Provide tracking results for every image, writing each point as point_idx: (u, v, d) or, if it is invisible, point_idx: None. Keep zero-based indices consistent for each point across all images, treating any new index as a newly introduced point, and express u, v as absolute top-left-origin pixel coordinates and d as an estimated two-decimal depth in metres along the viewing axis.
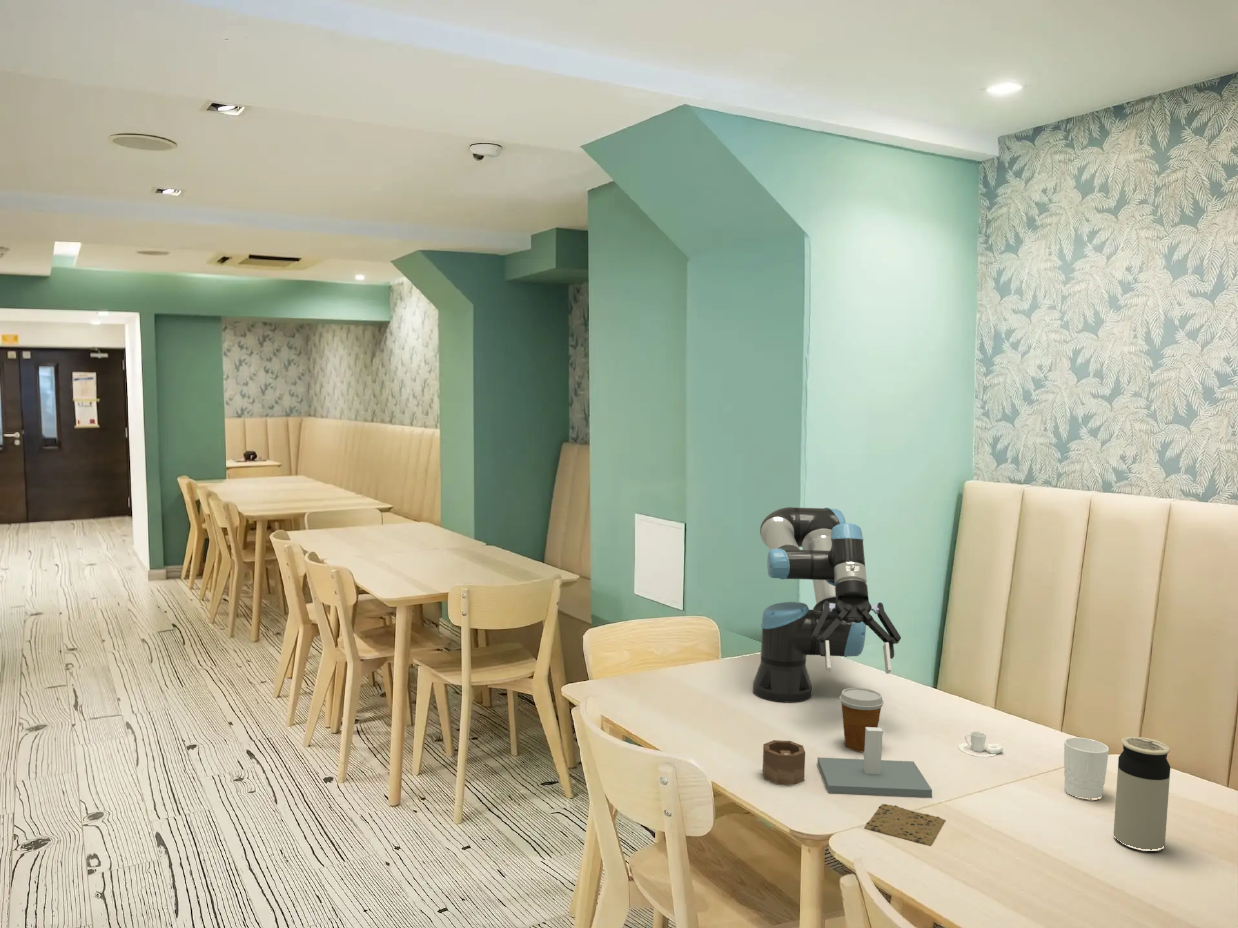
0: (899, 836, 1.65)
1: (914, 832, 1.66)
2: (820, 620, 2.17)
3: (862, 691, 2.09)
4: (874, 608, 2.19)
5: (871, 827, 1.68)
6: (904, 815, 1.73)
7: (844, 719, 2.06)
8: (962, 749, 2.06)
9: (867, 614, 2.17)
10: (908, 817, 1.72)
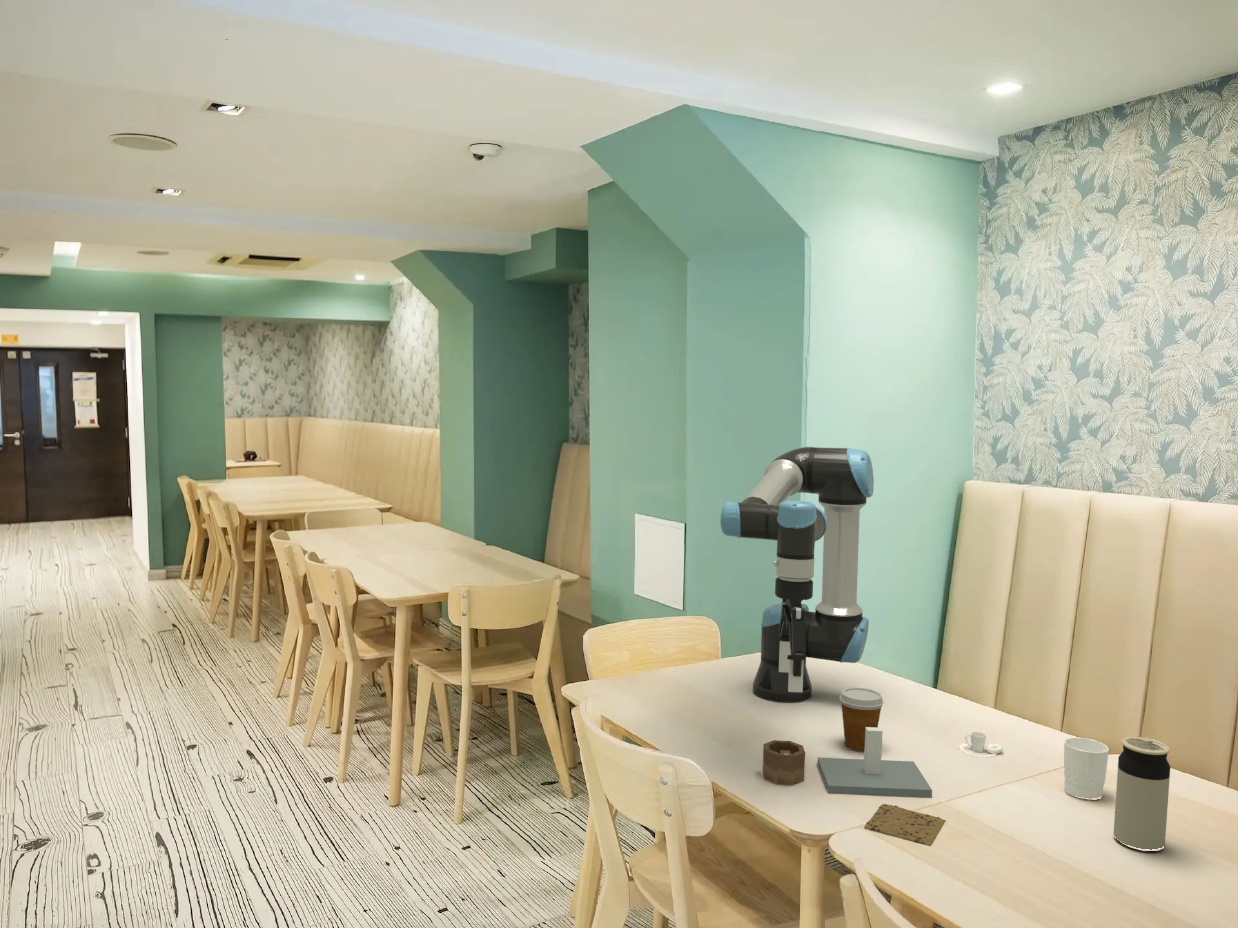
0: (899, 836, 1.65)
1: (914, 832, 1.66)
2: (780, 616, 1.96)
3: (862, 691, 2.09)
4: None
5: (871, 826, 1.68)
6: (904, 815, 1.73)
7: (844, 719, 2.06)
8: (962, 749, 2.06)
9: (786, 621, 1.85)
10: (908, 817, 1.72)
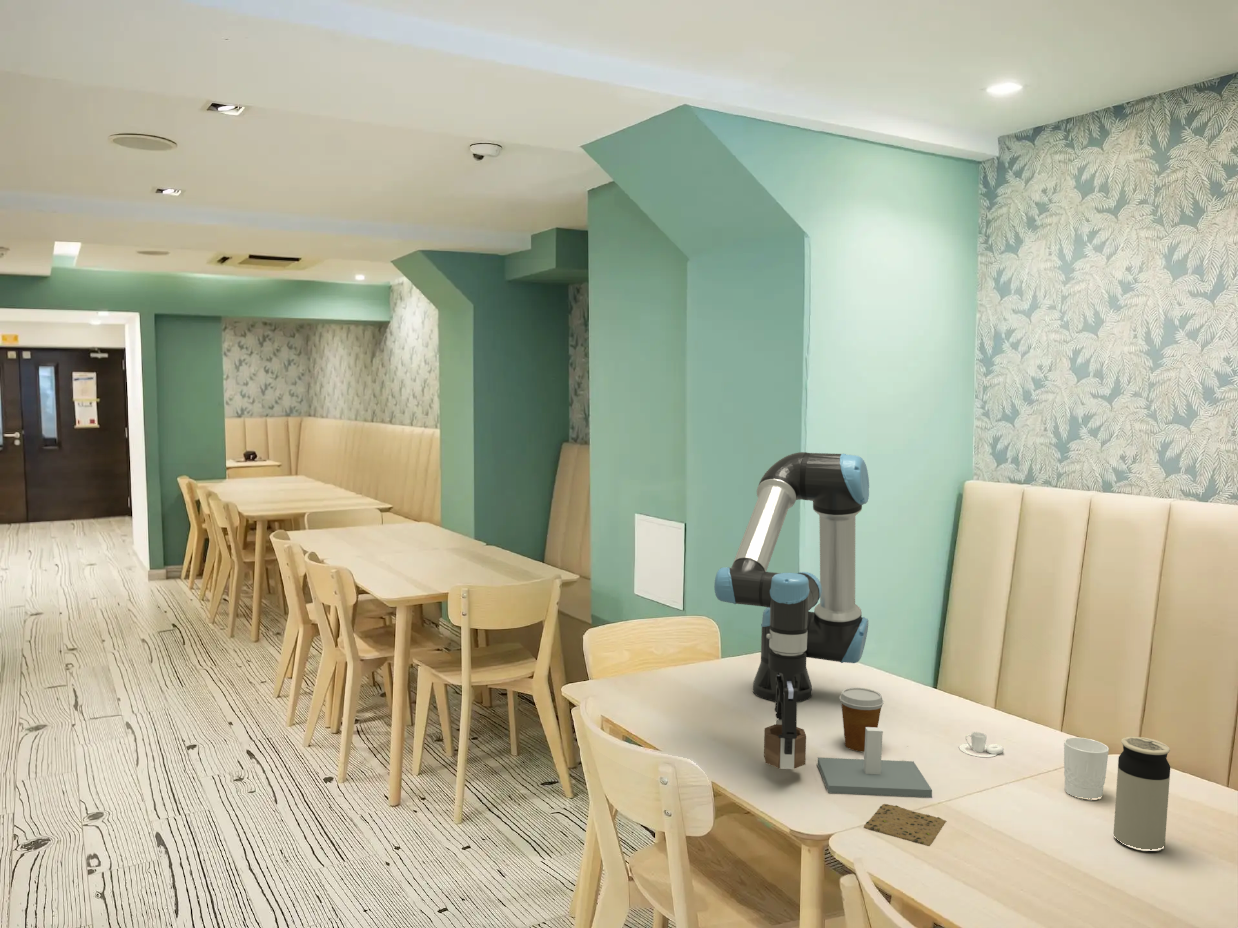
0: (898, 836, 1.65)
1: (913, 832, 1.66)
2: (776, 692, 1.96)
3: (862, 691, 2.09)
4: None
5: (870, 826, 1.68)
6: (905, 815, 1.73)
7: (844, 719, 2.06)
8: (963, 749, 2.06)
9: (779, 695, 1.87)
10: (908, 817, 1.72)
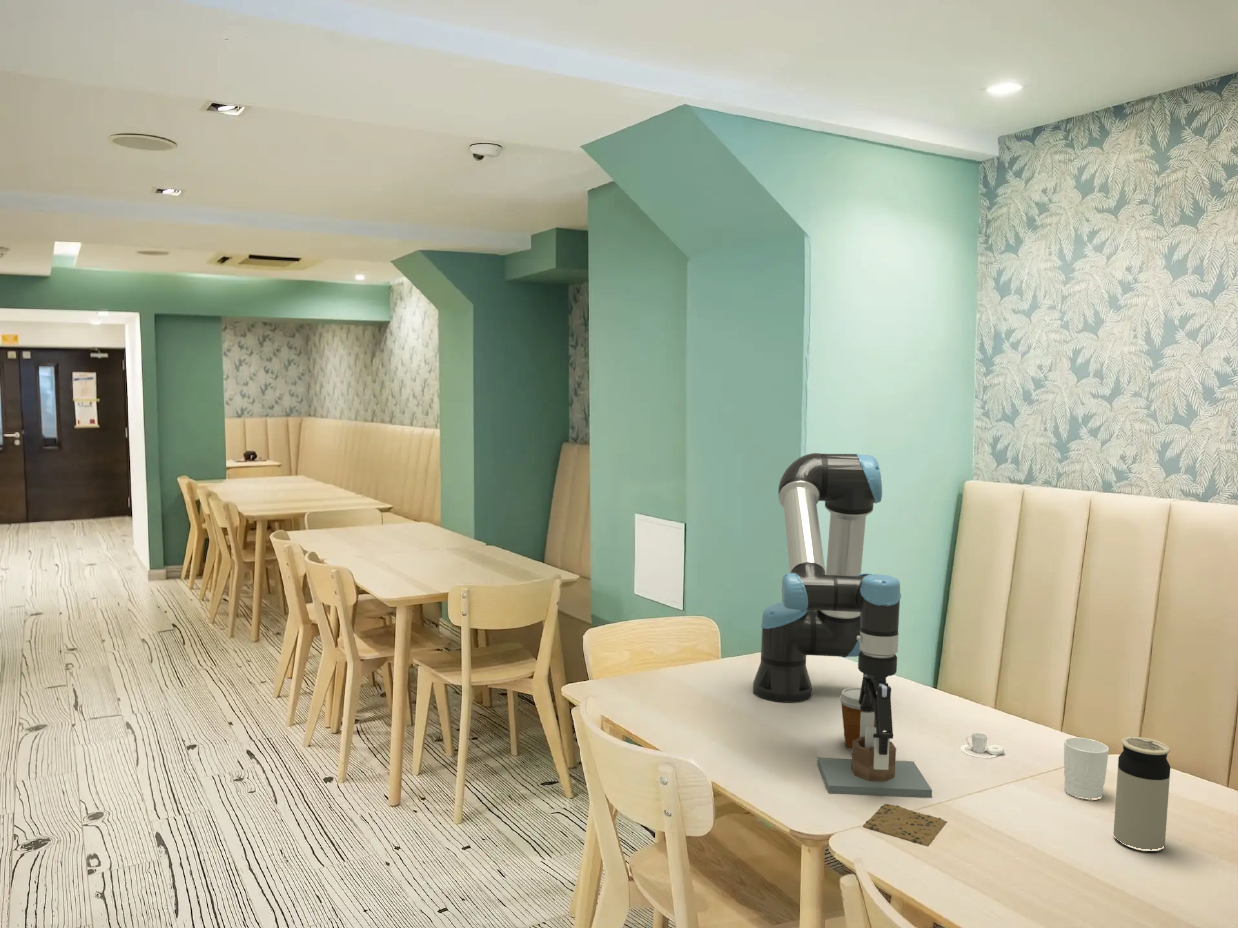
0: (897, 835, 1.65)
1: (912, 832, 1.66)
2: (861, 687, 1.96)
3: None
4: None
5: (870, 825, 1.68)
6: (905, 815, 1.73)
7: (844, 719, 2.06)
8: (963, 750, 2.06)
9: (870, 697, 1.85)
10: (909, 817, 1.72)
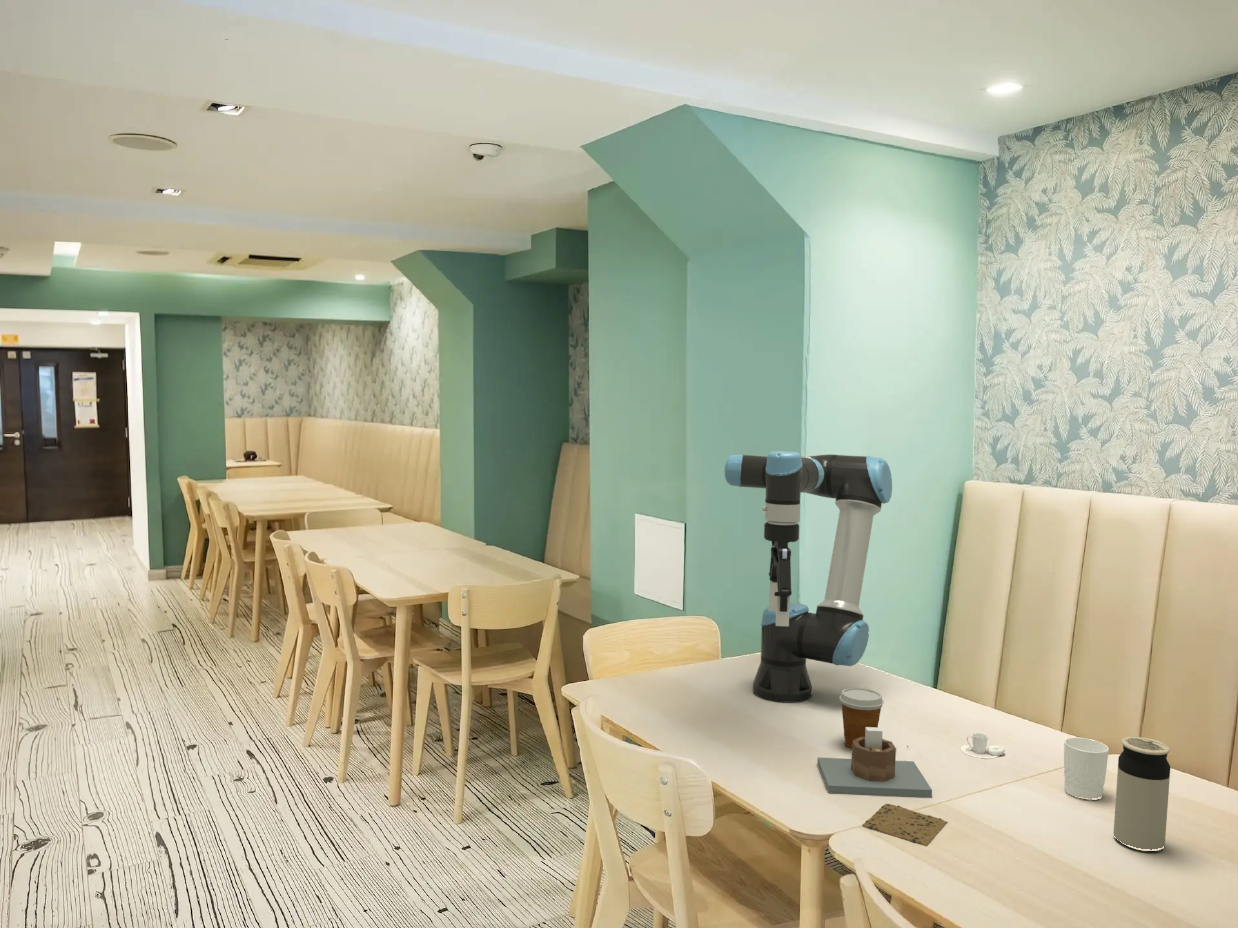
0: (896, 835, 1.65)
1: (912, 832, 1.66)
2: None
3: (862, 691, 2.09)
4: None
5: (869, 825, 1.69)
6: (906, 815, 1.73)
7: (844, 719, 2.06)
8: (964, 751, 2.05)
9: (774, 562, 2.01)
10: (909, 817, 1.72)
